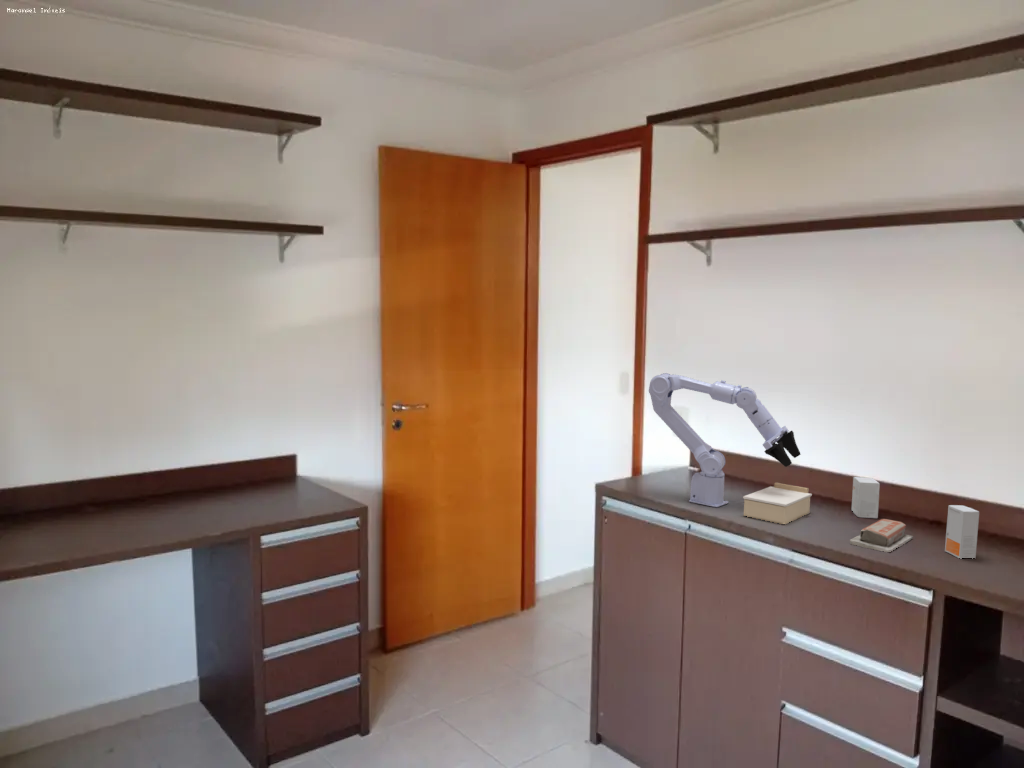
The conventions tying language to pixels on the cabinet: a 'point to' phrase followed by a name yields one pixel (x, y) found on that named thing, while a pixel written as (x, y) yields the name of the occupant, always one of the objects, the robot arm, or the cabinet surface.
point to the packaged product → (882, 536)
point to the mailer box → (776, 511)
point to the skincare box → (962, 531)
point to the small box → (865, 497)
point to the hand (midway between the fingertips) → (793, 460)
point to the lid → (780, 494)
